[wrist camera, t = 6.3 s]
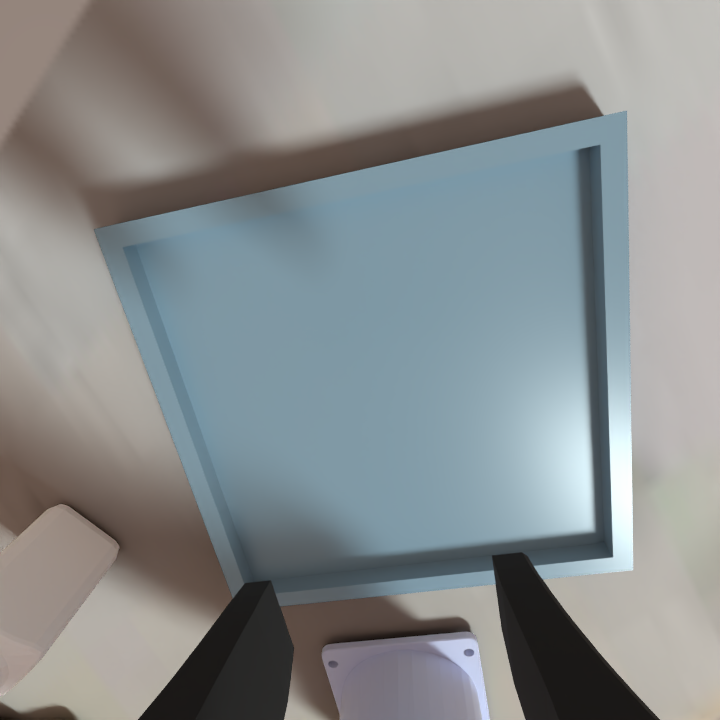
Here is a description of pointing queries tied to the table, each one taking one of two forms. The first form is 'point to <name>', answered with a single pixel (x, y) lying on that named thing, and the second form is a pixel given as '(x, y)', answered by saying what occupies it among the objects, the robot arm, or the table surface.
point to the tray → (400, 365)
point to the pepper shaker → (46, 585)
